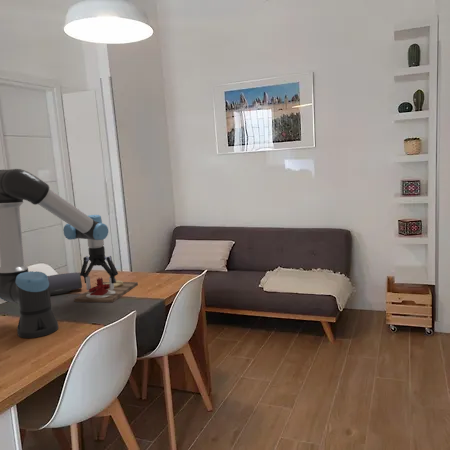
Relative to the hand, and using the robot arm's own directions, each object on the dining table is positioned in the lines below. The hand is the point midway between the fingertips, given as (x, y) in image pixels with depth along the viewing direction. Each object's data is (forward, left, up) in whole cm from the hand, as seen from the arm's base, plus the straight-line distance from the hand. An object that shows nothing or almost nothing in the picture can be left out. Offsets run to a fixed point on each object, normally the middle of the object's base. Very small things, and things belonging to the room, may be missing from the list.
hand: (100, 289), depth 222 cm
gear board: (+7, 0, -4) cm, 8 cm away
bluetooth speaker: (+6, +27, -4) cm, 28 cm away
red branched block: (0, 0, -2) cm, 2 cm away
